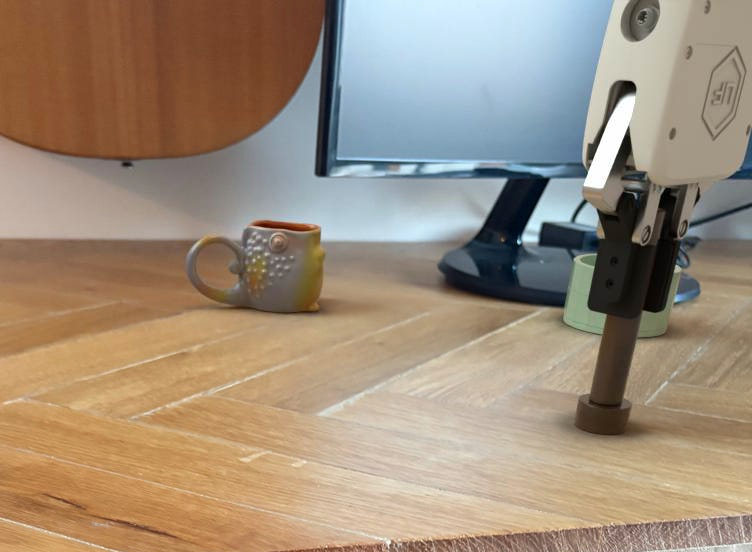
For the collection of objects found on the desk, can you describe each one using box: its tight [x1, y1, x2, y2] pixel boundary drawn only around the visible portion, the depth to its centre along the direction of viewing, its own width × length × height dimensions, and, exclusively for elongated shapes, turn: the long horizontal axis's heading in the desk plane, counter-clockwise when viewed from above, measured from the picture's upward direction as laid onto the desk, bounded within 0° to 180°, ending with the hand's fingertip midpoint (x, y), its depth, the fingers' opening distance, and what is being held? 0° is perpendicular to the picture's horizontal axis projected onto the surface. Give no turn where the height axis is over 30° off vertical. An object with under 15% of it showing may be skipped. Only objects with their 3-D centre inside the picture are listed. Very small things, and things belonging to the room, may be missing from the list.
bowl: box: [562, 253, 683, 339], centre depth 84 cm, size 9×9×5 cm
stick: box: [573, 208, 666, 435], centre depth 59 cm, size 3×3×13 cm
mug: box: [185, 219, 327, 313], centre depth 84 cm, size 12×7×7 cm, turn 105°
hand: (625, 308), depth 58 cm, fingers closed on stick, 2 cm apart
